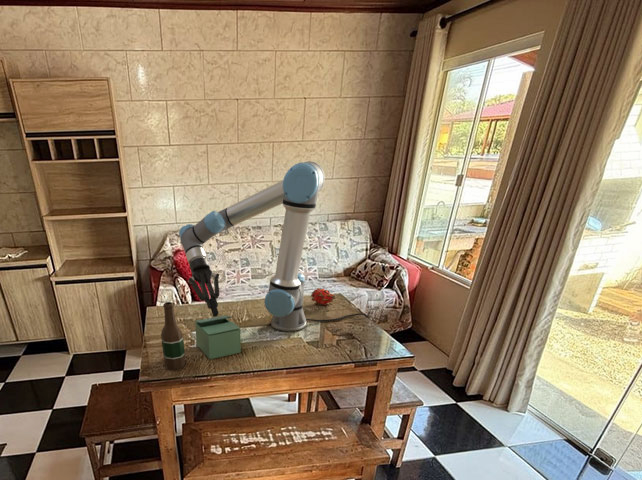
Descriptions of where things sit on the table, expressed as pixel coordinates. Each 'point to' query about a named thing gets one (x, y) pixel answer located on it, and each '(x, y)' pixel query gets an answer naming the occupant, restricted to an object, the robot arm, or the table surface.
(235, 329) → the container
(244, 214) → the robot arm
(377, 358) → the table surface
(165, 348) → the beer bottle
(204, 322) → the flap
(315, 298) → the dragon fruit
